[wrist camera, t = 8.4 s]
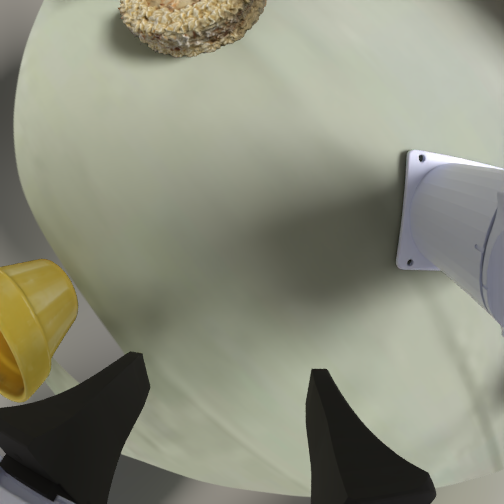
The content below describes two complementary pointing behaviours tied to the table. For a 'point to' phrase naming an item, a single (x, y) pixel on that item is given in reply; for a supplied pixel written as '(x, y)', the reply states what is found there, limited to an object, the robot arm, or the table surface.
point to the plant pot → (32, 323)
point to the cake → (190, 23)
